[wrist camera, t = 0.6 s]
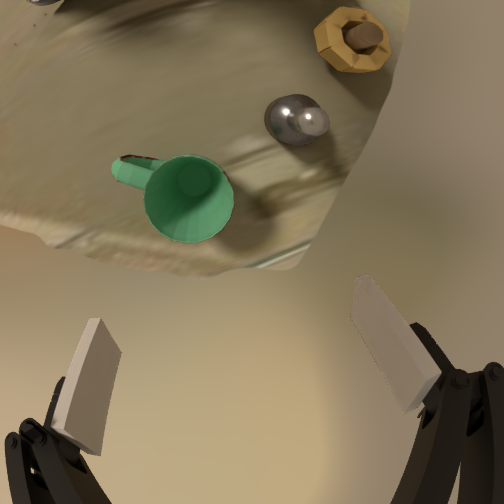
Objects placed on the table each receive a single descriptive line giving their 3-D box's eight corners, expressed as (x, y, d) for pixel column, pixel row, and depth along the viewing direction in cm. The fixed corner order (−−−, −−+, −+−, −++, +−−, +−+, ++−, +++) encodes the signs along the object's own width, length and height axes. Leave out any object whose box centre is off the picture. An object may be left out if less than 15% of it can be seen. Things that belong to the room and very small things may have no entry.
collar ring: (310, 13, 24) (320, 4, 20) (368, 20, 24) (383, 14, 20) (320, 71, 28) (333, 67, 25) (378, 74, 28) (394, 72, 25)
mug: (241, 162, 36) (250, 178, 27) (212, 222, 40) (212, 255, 31) (144, 123, 31) (120, 126, 23) (121, 187, 35) (94, 210, 26)
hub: (261, 99, 32) (279, 92, 22) (308, 95, 32) (342, 90, 23) (267, 144, 35) (287, 156, 26) (313, 139, 35) (347, 150, 26)
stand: (313, 27, 27) (343, 5, 18) (353, 30, 27) (389, 15, 18) (320, 65, 30) (352, 53, 21) (359, 67, 30) (398, 60, 22)
